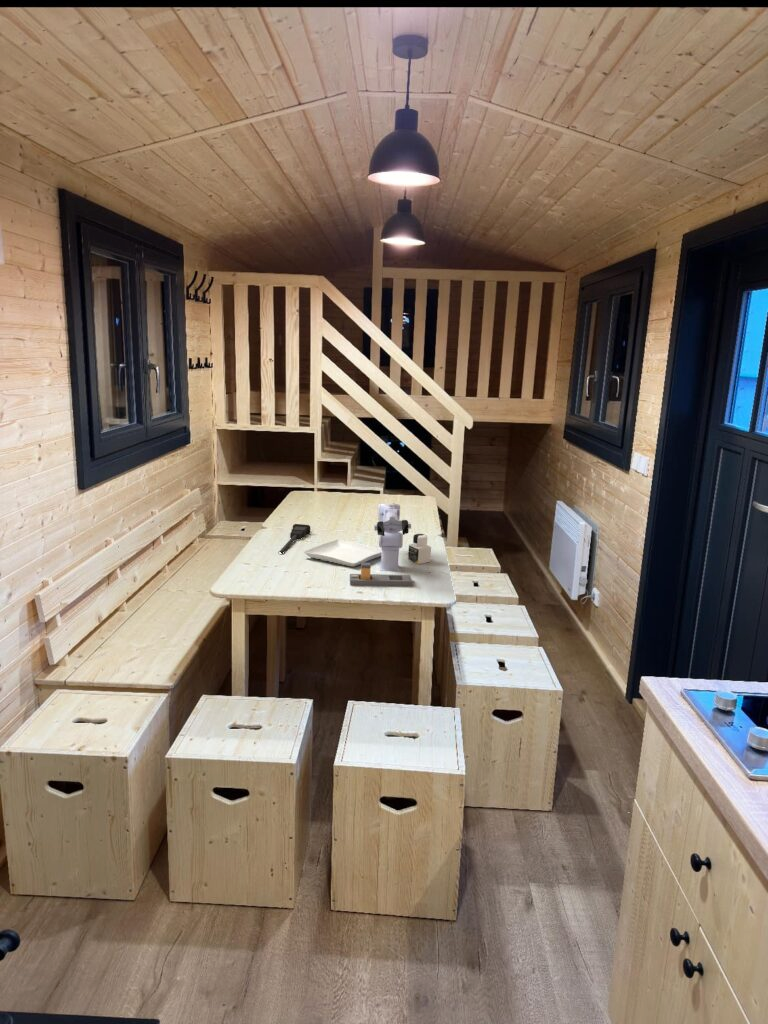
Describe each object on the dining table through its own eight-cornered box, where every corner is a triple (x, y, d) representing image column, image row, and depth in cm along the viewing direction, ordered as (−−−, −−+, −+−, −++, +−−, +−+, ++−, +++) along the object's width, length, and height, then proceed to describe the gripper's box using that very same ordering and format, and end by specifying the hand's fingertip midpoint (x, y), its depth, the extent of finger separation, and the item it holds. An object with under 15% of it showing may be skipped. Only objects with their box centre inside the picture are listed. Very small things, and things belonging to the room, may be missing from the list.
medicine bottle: (407, 560, 311) (409, 533, 308) (420, 558, 315) (422, 531, 312) (417, 564, 305) (419, 537, 302) (430, 562, 309) (432, 535, 306)
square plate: (354, 571, 293) (354, 562, 292) (301, 559, 307) (301, 550, 306) (388, 556, 316) (388, 548, 315) (337, 546, 329) (337, 538, 329)
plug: (360, 580, 279) (361, 562, 277) (369, 580, 279) (370, 562, 278) (360, 583, 276) (361, 565, 274) (369, 583, 276) (370, 565, 274)
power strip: (349, 579, 281) (349, 572, 280) (409, 580, 283) (410, 573, 282) (350, 586, 273) (350, 578, 273) (411, 587, 275) (412, 579, 275)
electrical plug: (312, 532, 351) (312, 522, 350) (290, 559, 312) (290, 548, 310) (295, 530, 352) (295, 521, 351) (271, 557, 313) (271, 546, 311)
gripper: (373, 514, 285) (374, 524, 272) (409, 512, 285) (411, 521, 272) (374, 530, 287) (375, 541, 274) (410, 528, 287) (412, 539, 274)
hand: (393, 532), depth 273 cm, fingers open, 7 cm apart
